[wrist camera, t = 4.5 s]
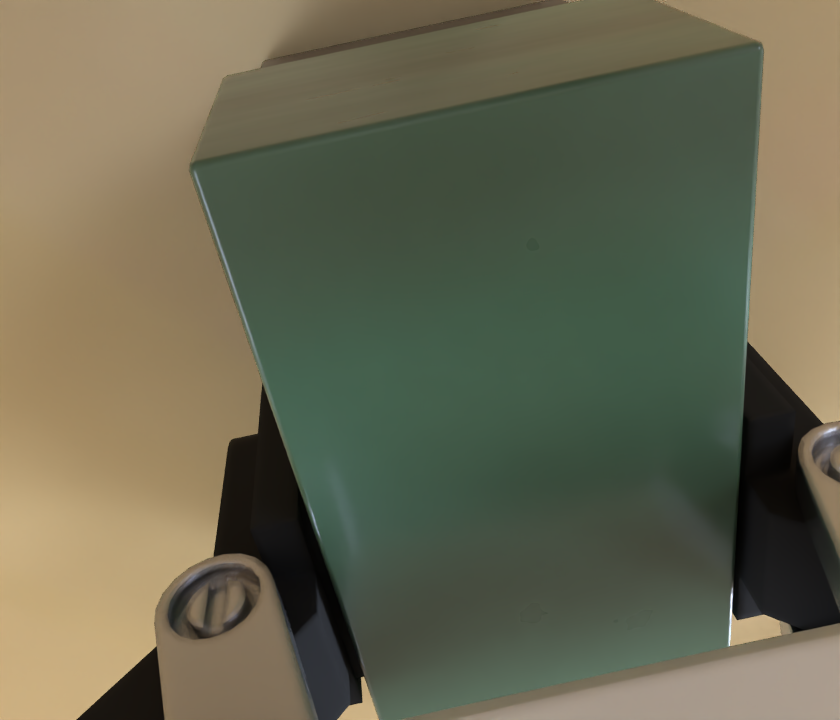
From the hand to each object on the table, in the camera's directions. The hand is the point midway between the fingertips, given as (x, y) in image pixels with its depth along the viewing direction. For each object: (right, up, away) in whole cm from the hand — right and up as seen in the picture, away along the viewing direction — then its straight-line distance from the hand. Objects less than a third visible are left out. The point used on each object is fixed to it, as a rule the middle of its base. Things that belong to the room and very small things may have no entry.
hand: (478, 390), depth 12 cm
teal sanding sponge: (0, +1, +1) cm, 1 cm away
